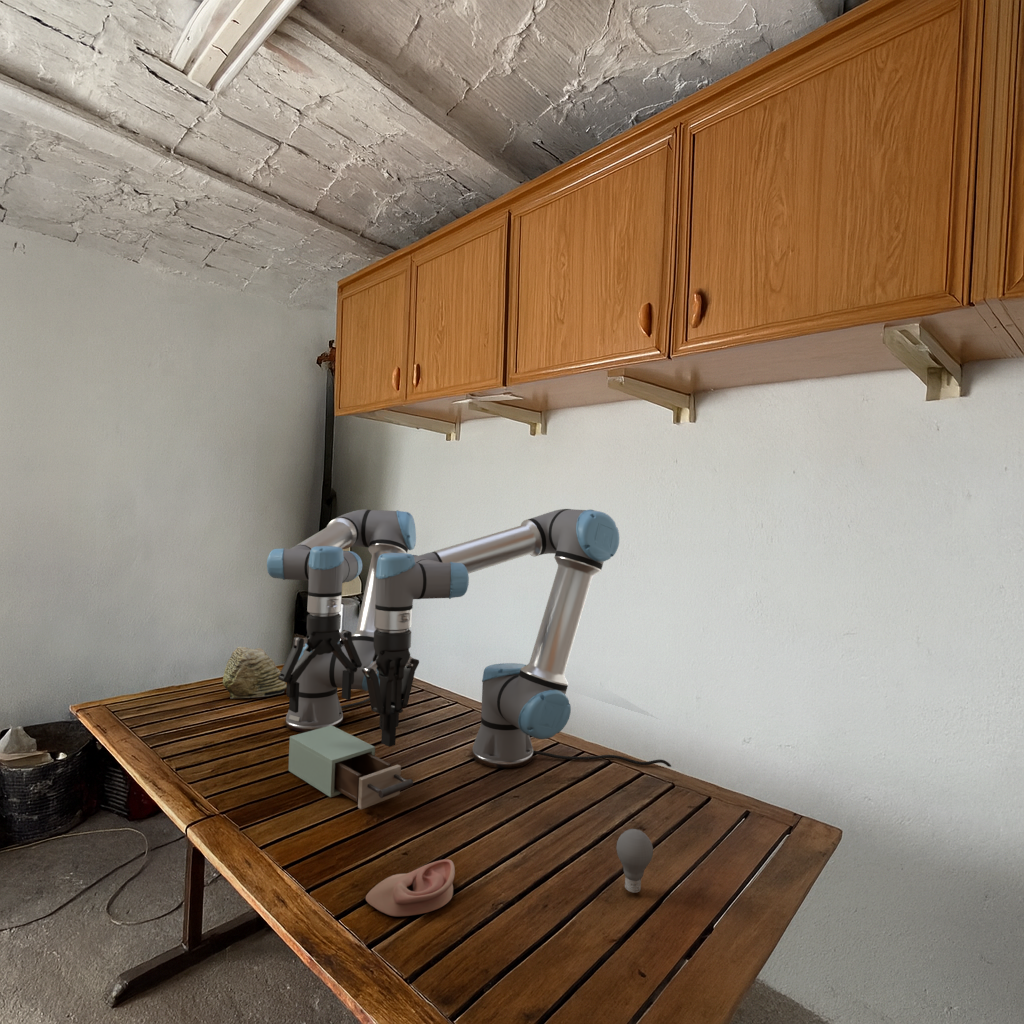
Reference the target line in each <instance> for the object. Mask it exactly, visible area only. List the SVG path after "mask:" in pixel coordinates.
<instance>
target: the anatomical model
mask: <svg viewBox="0 0 1024 1024" xmlns="http://www.w3.org/2000/svg"><path fill="white" fill-rule="evenodd" d="M455 875H456V870H455V863H454V862H453V861H452V860H451V859H448V858H446V859H439V860H436V861H432V862H430V863H426V864H425V865H422V866H420V867H418V868H416V869H414V870H412V871H410V872H408V873H396V874H392V875H390V876H388V877H386V878H384V879H382V880H381V881H380V882H378V883H377V884H376V885H375V886H374V887H372V888H371V889H370V890H369V891H368V893H367V894H366V895H365V901H366V902H367V903H368V905H370V906H371V907H373V908H374V909H375V910H376V911H379V912H380V913H382V914H385V915H387V916H390V917H399V918H400V917H410V916H417V915H422V914H427V913H430V912H434V911H436V910H438V909H441V908H442V907H444V906H445V905H447V904H448V903H449V902H451V900H452V898H453V895H454V885H453V883H454V880H455Z"/></svg>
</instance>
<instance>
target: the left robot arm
mask: <svg viewBox="0 0 1024 1024" xmlns="http://www.w3.org/2000/svg"><path fill="white" fill-rule="evenodd" d="M416 529H417V528H416V523H415V519H414V516H413V515H412V514H411V512H409V511H401V510H381V509H380V510H379V509H367V508H366V509H365V508H363V509H357V510H353V511H349V512H347V513H343V514H341V515H339V516H337V517H334V518H333V519H332V520H330V521H329V522H328V524H327V525H326V527H325V528H323V529H321V530H320V531H318V532H316V533H314V534H313V535H311V536H310V537H307V538H306V539H304V540H303V541H301V542H299V543H298V544H296V545H294V546H292V547H290V548H285V547H282V548H274V549H272V550H271V551H270V553H269V554H268V556H267V559H266V570H267V573H268V575H269V576H270V578H273V579H278V580H279V579H280V580H282V581H283V580H284V581H285V580H287V581H288V580H289V581H308V589H307V590H308V591H307V605H306V606H307V607H306V608H307V610H306V612H307V613H308V614H307V615H306V632H307V633H306V637H299V636H294V637H293V639H292V647H291V649H290V651H289V653H288V655H287V658H286V659H285V662H284V664H283V666H282V668H281V669H280V674H279V677H278V679H279V680H281V681H284V682H286V685H287V687H286V690H285V691H286V693H285V694H286V697H287V698H288V699H289V700H288V711H287V713H286V715H285V726H286V728H287V729H289V730H291V731H294V732H295V731H296V732H300V733H305V732H308V731H312V730H316V729H320V728H324V727H327V726H331V725H332V726H334V727H336V728H338V727H339V726H340V725H342V723H343V722H344V714H343V709H347V708H352V707H356V706H360V705H362V704H365V703H367V702H370V698H369V697H368V698H366V699H364V700H360V701H357V702H353V703H348V704H344V705H341V702H340V699H339V695H338V689H341V698H342V699H344V700H347V701H350V700H351V698H352V690H360V691H361V690H362V691H365V692H368V687H367V681H366V677H365V675H364V673H363V672H362V668H363V667H364V666H366V667H368V666H369V665H370V664H371V663H372V662H373V656H374V654H375V649H374V646H373V645H374V631H375V630H376V628H375V627H374V617H375V604H376V570H377V562H378V558H379V556H380V555H381V554H384V553H407V554H408V551H413V550H414V549H415V547H416V543H417V530H416ZM353 547H358V548H367V550H368V552H369V553H370V555H371V559H370V564H369V567H368V573H367V578H366V583H365V587H364V592H363V596H362V602H361V606H360V611H359V615H358V620H357V625H356V630H355V632H354V633H353V634H352V631H350V630H346V629H343V630H341V624H342V622H341V621H342V614H341V613H340V612H342V598H343V597H342V596H343V592H342V591H343V584H345V583H349V582H352V581H353V580H355V579H357V578H358V577H359V575H360V574H361V573H362V572H363V561H362V558H361V557H360V555H359V554H357V553H356V552H355V551H351V550H347V549H350V548H353ZM340 630H341V631H340ZM340 640H341V641H342V644H341V641H340ZM377 672H378V674H377V677H378V675H379V671H378V670H377ZM378 680H379V686H380V679H379V677H378Z"/></svg>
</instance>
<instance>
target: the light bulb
mask: <svg viewBox="0 0 1024 1024" xmlns="http://www.w3.org/2000/svg"><path fill="white" fill-rule="evenodd" d="M615 849H616V854H617V857H618V859H619V861H620V863H621V865H622V867H623V873H624V874H623V875H624V876H625V878H624V888H625V890H627V891H628V892H630V893H634V894H635V893H639V892H640V891H641V889H642V887H641V886H642V879H643V877H644V875H645V871H646V868H647V867H648V866H649V864H650V863H651V861H652V859H653V855H654V847H653V843H652V841H651V838H649V836H648V835H647V834H646V833H645V832H643V831H642V830H641V829H636V828H629V829H627V830H625V831H623V832H622V833H621V834H620V835H619V837H618V839H617V841H616V847H615Z"/></svg>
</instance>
